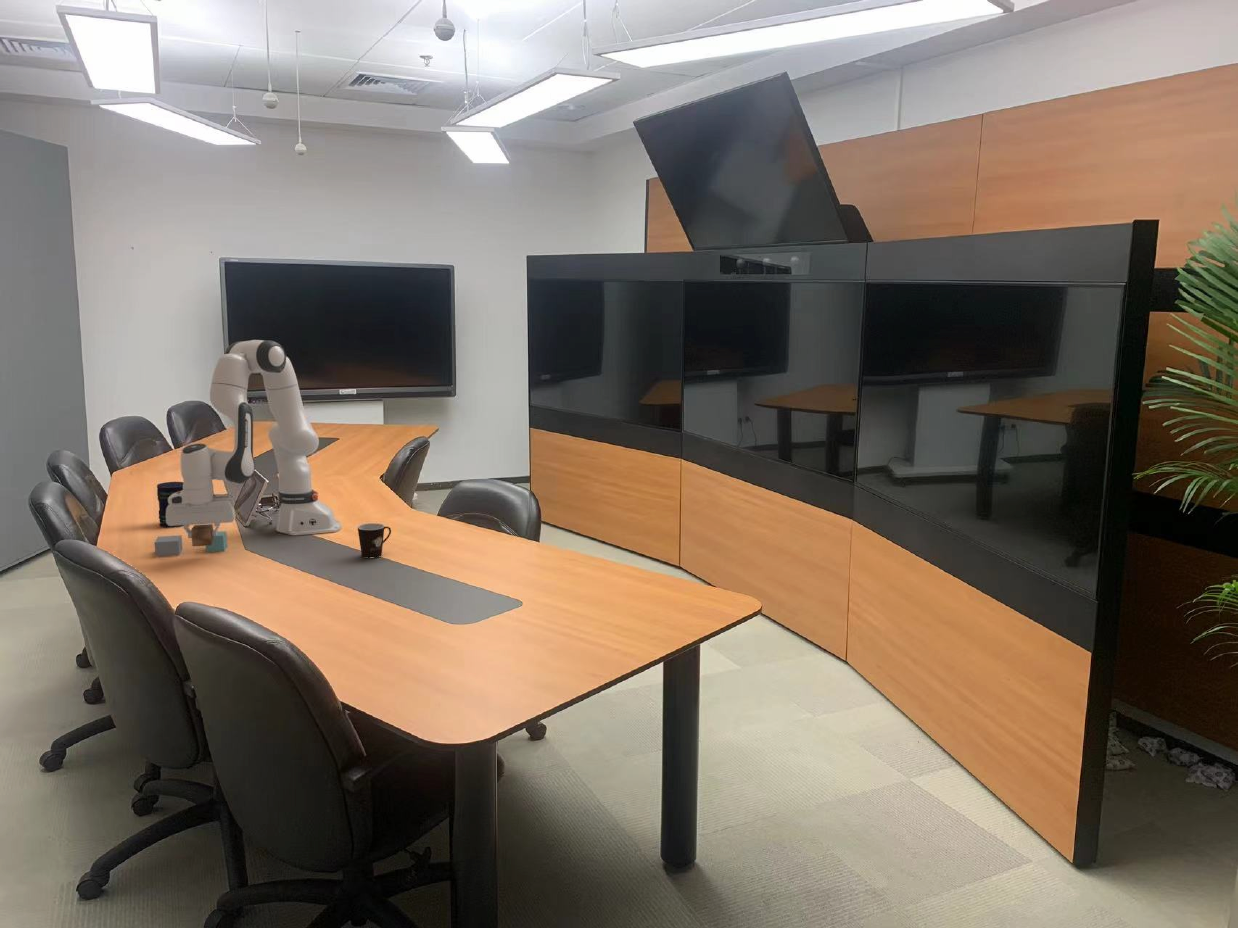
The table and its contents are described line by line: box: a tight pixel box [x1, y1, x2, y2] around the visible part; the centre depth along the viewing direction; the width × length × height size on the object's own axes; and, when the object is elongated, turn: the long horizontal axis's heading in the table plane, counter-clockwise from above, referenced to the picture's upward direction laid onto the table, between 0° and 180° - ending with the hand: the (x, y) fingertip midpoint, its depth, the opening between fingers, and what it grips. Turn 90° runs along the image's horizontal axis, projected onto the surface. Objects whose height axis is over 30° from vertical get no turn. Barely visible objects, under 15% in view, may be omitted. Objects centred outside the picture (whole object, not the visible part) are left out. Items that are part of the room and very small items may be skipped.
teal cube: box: [205, 530, 228, 553], centre depth 301 cm, size 6×6×6 cm
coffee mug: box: [357, 522, 392, 559], centre depth 299 cm, size 12×9×10 cm
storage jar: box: [156, 481, 183, 529], centre depth 329 cm, size 10×10×15 cm
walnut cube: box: [190, 523, 214, 547], centre depth 290 cm, size 6×6×6 cm
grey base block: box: [154, 535, 183, 557], centre depth 296 cm, size 7×7×5 cm
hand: (202, 536), depth 290 cm, fingers closed on walnut cube, 5 cm apart
